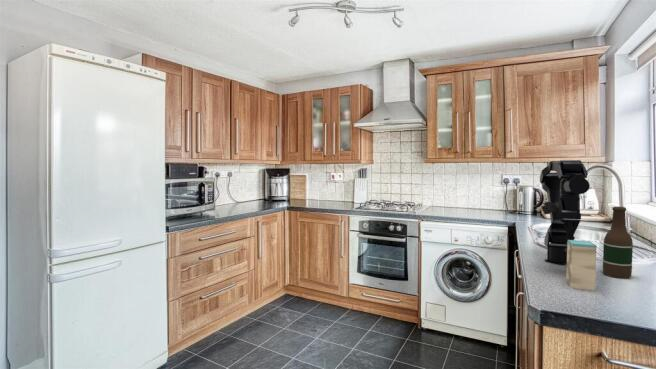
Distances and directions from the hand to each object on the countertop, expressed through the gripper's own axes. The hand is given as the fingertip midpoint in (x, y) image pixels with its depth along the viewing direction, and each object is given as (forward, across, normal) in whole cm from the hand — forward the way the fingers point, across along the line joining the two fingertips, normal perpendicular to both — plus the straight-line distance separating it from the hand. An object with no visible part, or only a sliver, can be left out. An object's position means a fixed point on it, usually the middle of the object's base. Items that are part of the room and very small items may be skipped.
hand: (569, 239), depth 118 cm
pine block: (+14, +12, +3) cm, 19 cm away
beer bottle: (+12, -8, +13) cm, 20 cm away
